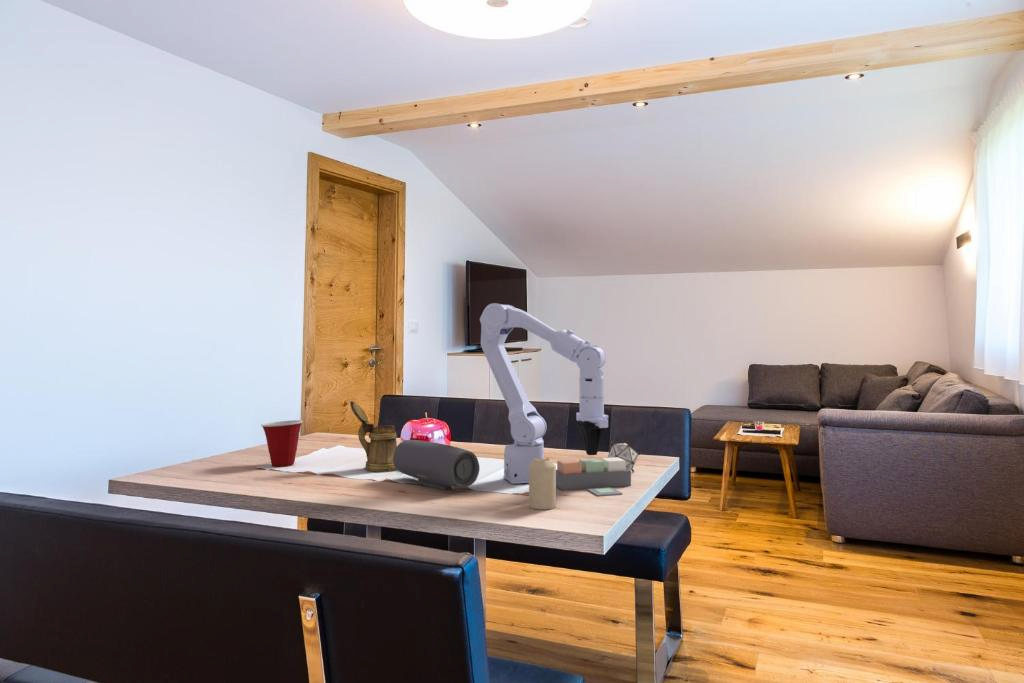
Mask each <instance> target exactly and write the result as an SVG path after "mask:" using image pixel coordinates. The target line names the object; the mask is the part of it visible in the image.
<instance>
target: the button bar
mask: <svg viewBox="0 0 1024 683" xmlns="http://www.w3.org/2000/svg"><path fill="white" fill-rule="evenodd" d="M630 486H632V470H628V469H626V471H610V472H608V471H606V470H604V472H594V473H585V472H583V471H582V473H577V474H561V473H560V472H558V471H557V469H556V489H559V490H560V491H571V490H587V489H591V488H606V487H612V488H614V487H615V488H616V487H630Z"/></svg>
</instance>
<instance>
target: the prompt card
mask: <svg viewBox="0 0 1024 683" xmlns="http://www.w3.org/2000/svg"><path fill="white" fill-rule="evenodd" d="M586 491H588V492H589V493H591V494H593V495H594V496H597V497H604V496H619V495H623V492H621V491H620V490H618V489H616V488H614V487H603V488H588V489H586Z"/></svg>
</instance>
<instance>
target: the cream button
mask: <svg viewBox="0 0 1024 683" xmlns="http://www.w3.org/2000/svg"><path fill="white" fill-rule="evenodd" d="M600 460H601V461H603V462H604V470H606V471H608V472H610V471H626V460H623V459H621V458H618V457H613V458H607V457H602V458H600Z"/></svg>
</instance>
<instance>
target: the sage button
mask: <svg viewBox="0 0 1024 683" xmlns="http://www.w3.org/2000/svg"><path fill="white" fill-rule="evenodd" d="M578 462H580V463H582V471H583V472H585V473H594V472H604V462H603V461H601V459H598V458H597V457H596V458H584V459H583V458H581V459H579V461H578Z"/></svg>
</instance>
